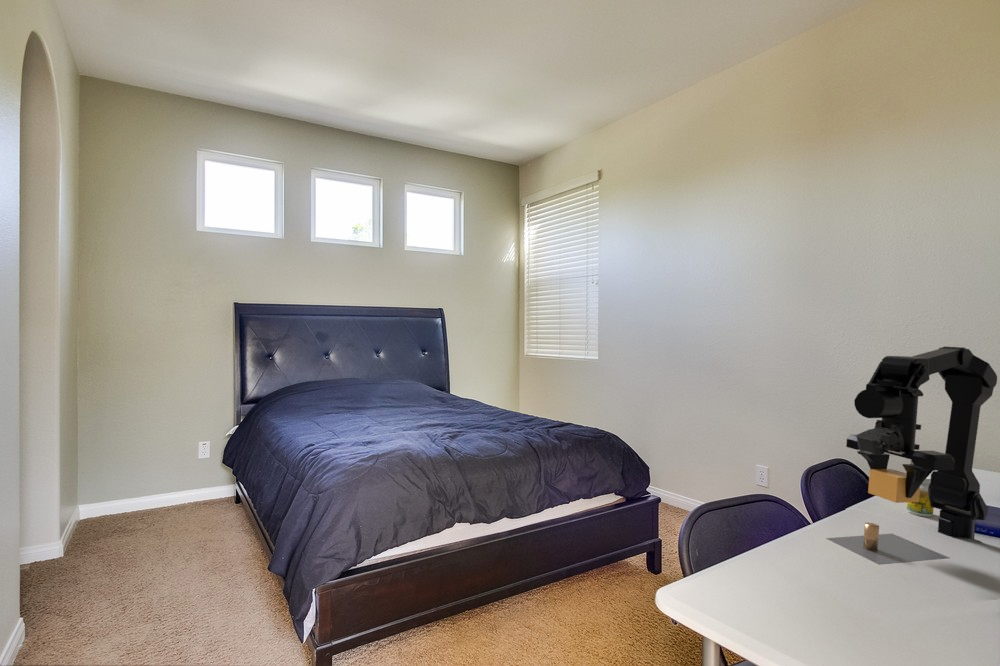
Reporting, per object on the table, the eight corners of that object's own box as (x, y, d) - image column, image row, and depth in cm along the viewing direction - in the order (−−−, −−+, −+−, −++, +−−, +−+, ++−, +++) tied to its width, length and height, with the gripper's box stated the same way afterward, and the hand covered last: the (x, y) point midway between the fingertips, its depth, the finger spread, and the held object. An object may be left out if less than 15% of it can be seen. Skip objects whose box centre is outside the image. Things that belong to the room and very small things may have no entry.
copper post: (869, 546, 109) (871, 522, 109) (880, 551, 107) (882, 526, 107) (860, 546, 109) (861, 522, 109) (871, 551, 106) (872, 527, 106)
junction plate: (891, 540, 117) (892, 533, 117) (949, 565, 105) (949, 557, 105) (825, 545, 112) (825, 538, 112) (878, 571, 101) (878, 564, 101)
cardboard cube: (890, 492, 112) (892, 469, 112) (919, 502, 106) (920, 477, 106) (868, 492, 111) (869, 469, 111) (895, 502, 105) (897, 477, 105)
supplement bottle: (936, 515, 135) (938, 478, 134) (927, 518, 132) (930, 480, 132) (911, 508, 139) (913, 472, 139) (902, 511, 136) (904, 475, 136)
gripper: (828, 408, 115) (823, 479, 116) (914, 426, 97) (908, 509, 98) (868, 409, 118) (863, 478, 118) (959, 426, 100) (953, 508, 100)
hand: (893, 492), depth 109 cm, fingers closed on cardboard cube, 6 cm apart
